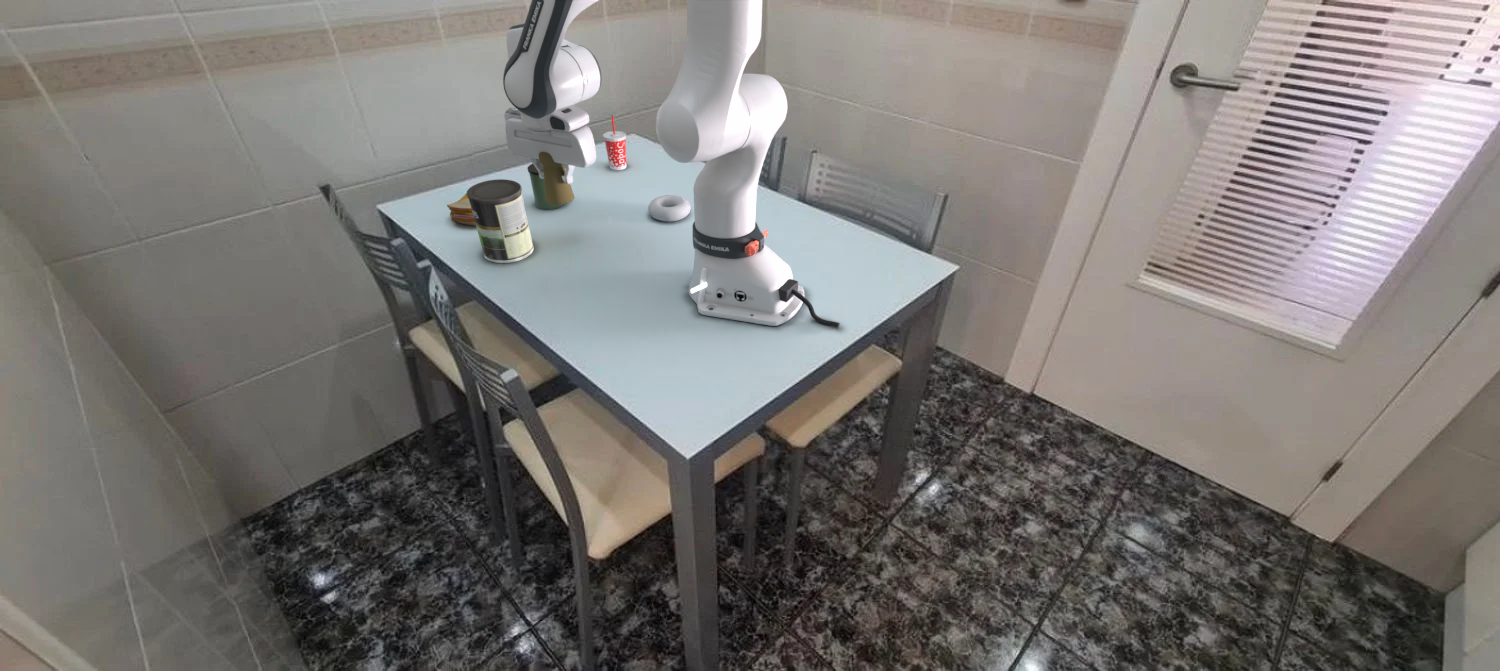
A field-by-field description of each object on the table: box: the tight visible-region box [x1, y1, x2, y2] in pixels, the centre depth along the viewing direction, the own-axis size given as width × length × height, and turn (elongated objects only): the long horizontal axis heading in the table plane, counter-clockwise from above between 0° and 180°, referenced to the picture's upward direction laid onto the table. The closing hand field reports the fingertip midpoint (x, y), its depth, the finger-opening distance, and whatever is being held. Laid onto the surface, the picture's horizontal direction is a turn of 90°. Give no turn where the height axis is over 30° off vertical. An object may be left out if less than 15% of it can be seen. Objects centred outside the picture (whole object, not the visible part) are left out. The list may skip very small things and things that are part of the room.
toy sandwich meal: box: [446, 192, 476, 226], centre depth 142 cm, size 12×14×5 cm
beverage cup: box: [602, 115, 627, 171], centre depth 165 cm, size 6×6×14 cm
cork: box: [539, 152, 575, 205], centre depth 127 cm, size 6×6×11 cm
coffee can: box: [466, 178, 535, 264], centre depth 126 cm, size 10×10×14 cm
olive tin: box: [527, 163, 565, 210], centre depth 147 cm, size 7×7×9 cm
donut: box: [648, 194, 692, 222], centre depth 145 cm, size 10×4×10 cm
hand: (556, 180), depth 128 cm, fingers closed on cork, 4 cm apart
